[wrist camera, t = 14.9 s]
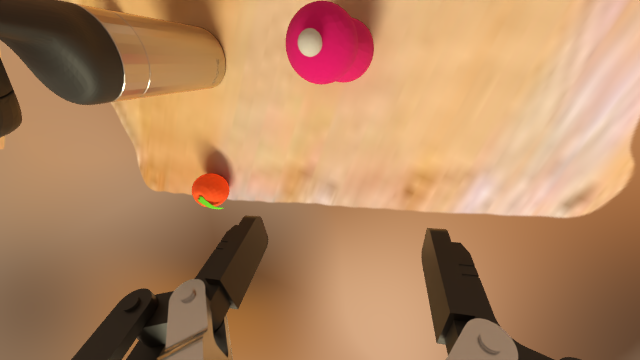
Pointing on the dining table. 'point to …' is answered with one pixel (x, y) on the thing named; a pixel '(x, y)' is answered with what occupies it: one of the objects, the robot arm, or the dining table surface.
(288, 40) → the pepper mill
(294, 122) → the dining table surface
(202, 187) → the clementine
